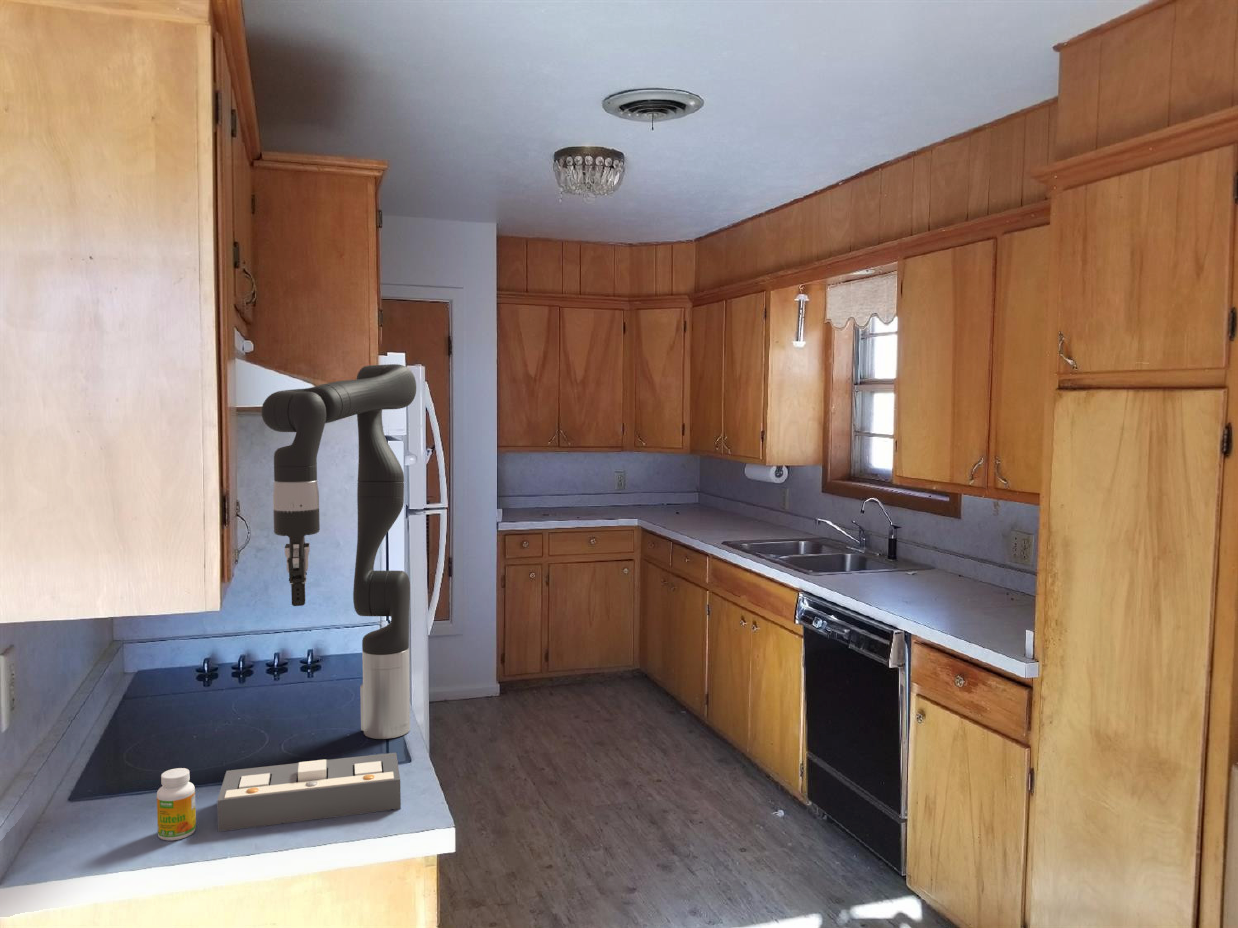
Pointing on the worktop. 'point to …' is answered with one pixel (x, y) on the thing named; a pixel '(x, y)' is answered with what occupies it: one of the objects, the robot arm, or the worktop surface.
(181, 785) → the supplement bottle
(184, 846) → the worktop surface
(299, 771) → the middle key
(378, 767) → the far key
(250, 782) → the near key
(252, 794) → the button board
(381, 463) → the robot arm
